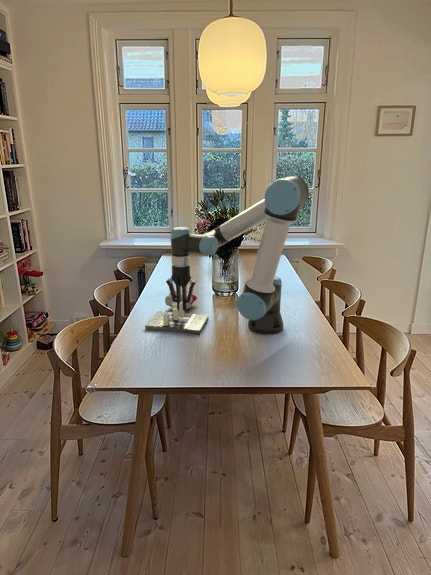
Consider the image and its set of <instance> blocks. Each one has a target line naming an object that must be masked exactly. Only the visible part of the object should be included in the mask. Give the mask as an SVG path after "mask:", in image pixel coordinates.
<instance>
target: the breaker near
mask: <svg viewBox="0 0 431 575" xmlns="http://www.w3.org/2000/svg"><path fill="white" fill-rule="evenodd" d="M163 320H164V325H167V326H168V325H169V323H170V321H169V313H164V314H163Z"/></svg>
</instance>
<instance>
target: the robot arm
mask: <svg viewBox="0 0 431 575" xmlns="http://www.w3.org/2000/svg"><path fill="white" fill-rule="evenodd" d="M309 195H310V188H309V186H308V184H307V182H306V181H305V180H304V179H303V178H302V177H299V176H296V175H293V176H287V177H280V178H277V179H276V180H274V181H272V182H271V183H270V184H269V185H268V186H267V188H266V190H265V192H264V196H263V197H264V198H263V199H262V200H260V201H258V202H257V203H255V204H253V205H252V206H250V207H248V208H246V209H245V210H243V211H242V212H240V213H239V214H237V215H236V216H235V215H234V217H232V218H230V219H228V220H227V221H225V222H224V223H222V224H220V225H218V226H216V227H215V228H213V229H212V230H210V231H206V232H204V233H201V234H197V233H196V234H195V233H191V231H190V228H189V227H186V226H175V227H173V228H171V230H170V244H171V245H170V247H171V264H172V265H171V276H170V278H168V279H167V280H166V281H165V282H166V284H167V286H168V288H169V294H170V293H171V296H172V300H173V302H176V303H177V310H179V318H183V317H184V316H185V314H184V313H185V311H186V310H187V309H186V308H187V307H186V303H189V302H190V300H191V297H192V295H193V291H194V289H195V288H194V287H195V285H196V283H197V280H194V279H193V278H192V276H191V265H190V264H191V261H190V260H191V258H190V257H191V254H190V253H192V254H200V255H204V256H207V255H208V256H213V255H215V254H216V252H218V248H220V247H222V246H224V245H225V244H226V243H228V242H230V241H232V240H233V239H235V238H237V237H239V236H240V235H242V234H244V233H246V232H248V231H249V230H251V229H253V228H255V227H257V226H258V225H260V224H262V223H263V222H265V223H264V226H263V227H264V228H263V230H262V235H261V238H260V243H259V246H258V248H257V249H258V250H257V254H256V256H255V259H254V260H255V261H254V264H253V268H252V272H251V277H249V278H247V279H246V280H245V282H244V286H243V289H242V293H241V294H239V296H238V298H237V300H236V308H237V311H238V312H239V314H240V315H241V316H242V317H243V318H245V319H246V320H248V321H247V328H248V329H249V331H251V332H252V333H255V334H259V335H264V336H265V335H268V336H269V335H276V334H279V333H281V332H282V331H283V330H284V322H283V321H284V320H283V318H282V314H281V313H282V312H281V300H282V286H283V285H282V283H283V282H282V279H281V277H279V276H276V274H277V270H278V266H279V263H280V259H281V257H282V252H283V250H284V247H285V244H286V240H287V236H288V232H289V229H290V226H291V224H293V223H295V222H296V221H297V218H298V215H299V211H300V208H301V207H302V206H304V205H305V203H306V202H307V201H308V198H309ZM174 284H175V287H174ZM188 284H189V285H190V286H189V289H188V291H187V288H188V287H187V286H188ZM175 289H176V290H175ZM175 291H176V293H175ZM181 292H182V302H181ZM187 292H188V297H187Z"/></svg>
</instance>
